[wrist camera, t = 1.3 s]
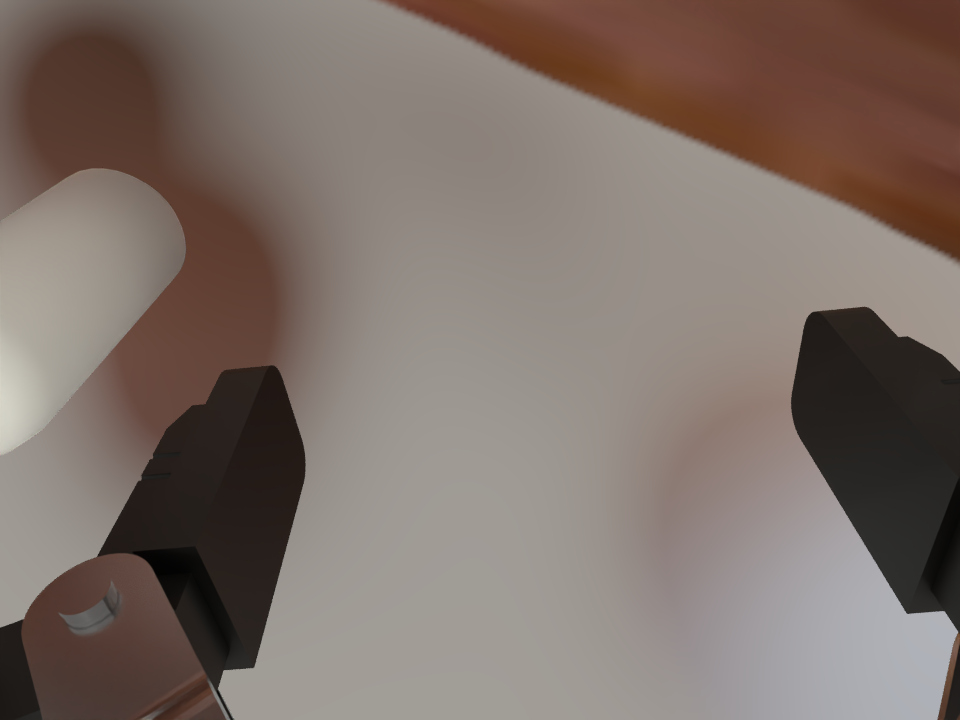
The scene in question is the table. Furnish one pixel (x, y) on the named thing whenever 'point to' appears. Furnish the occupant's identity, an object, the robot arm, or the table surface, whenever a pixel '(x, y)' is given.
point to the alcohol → (76, 287)
